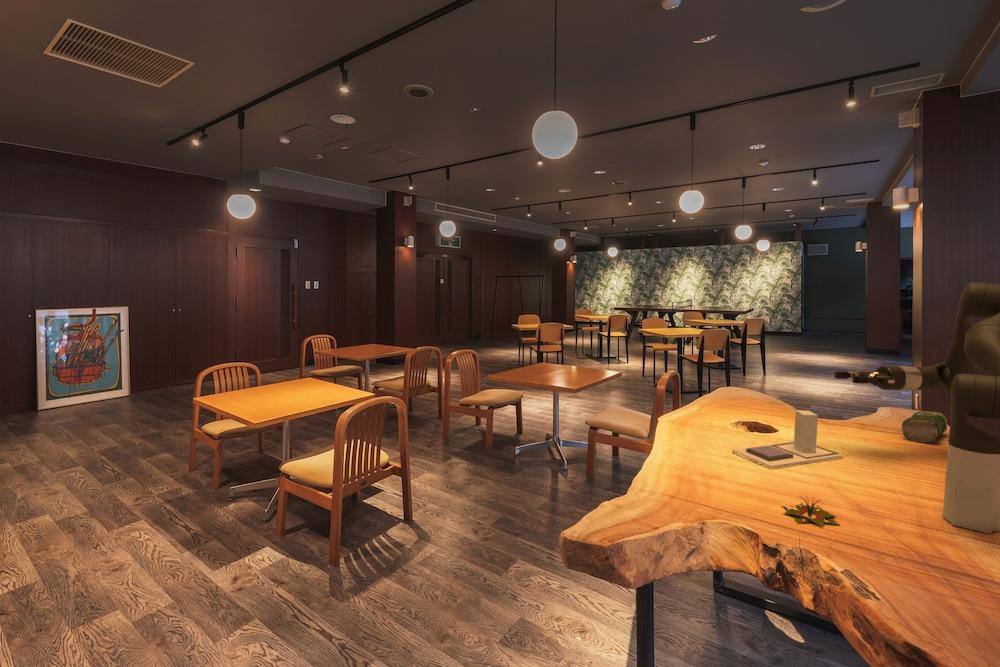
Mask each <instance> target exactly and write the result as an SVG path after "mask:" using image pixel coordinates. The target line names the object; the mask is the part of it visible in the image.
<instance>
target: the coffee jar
mask: <svg viewBox="0 0 1000 667" xmlns="http://www.w3.org/2000/svg"><path fill="white" fill-rule="evenodd" d="M901 424H902V425H901V432H902V434H903V437H904V438H906V439H908V440H910V441H913V442H917V441H918V442H919V443H935V442H937V440H939V439H940V436H941V434H944V433H945V432H946V431H947V429H948V421H947V417H946V415H945V414H944V413H943V412H940V411H935V410H934V411H933V410H920V411H915V412H914V413H913V414H912V415H911V417H909V418H907V419H905V420H903V421H902V423H901Z"/></svg>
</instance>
